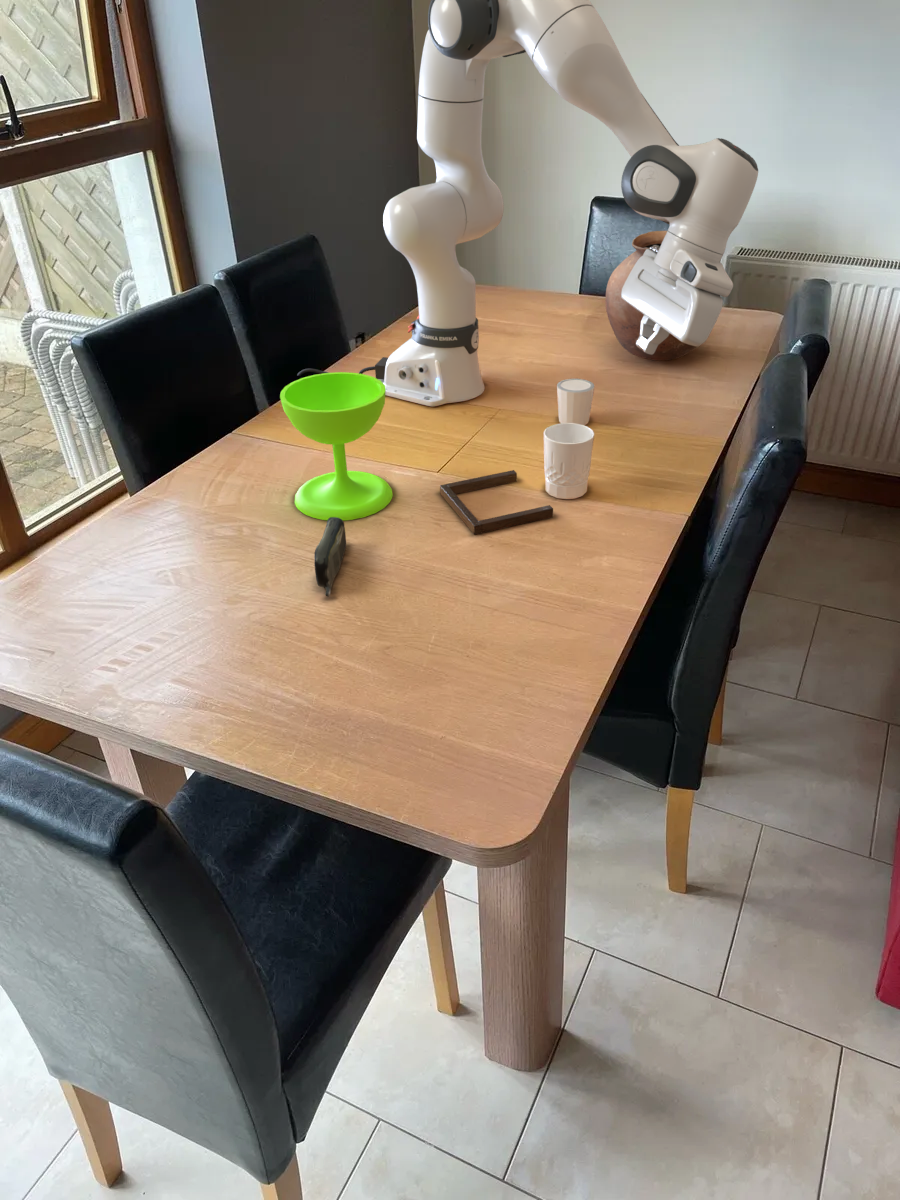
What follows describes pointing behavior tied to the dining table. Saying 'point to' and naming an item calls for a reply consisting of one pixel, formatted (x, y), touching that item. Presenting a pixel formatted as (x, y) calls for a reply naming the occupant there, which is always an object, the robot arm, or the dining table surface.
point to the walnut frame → (494, 523)
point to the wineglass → (337, 441)
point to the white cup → (567, 459)
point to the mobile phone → (330, 553)
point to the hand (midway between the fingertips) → (644, 350)
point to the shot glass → (574, 400)
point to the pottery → (627, 317)
